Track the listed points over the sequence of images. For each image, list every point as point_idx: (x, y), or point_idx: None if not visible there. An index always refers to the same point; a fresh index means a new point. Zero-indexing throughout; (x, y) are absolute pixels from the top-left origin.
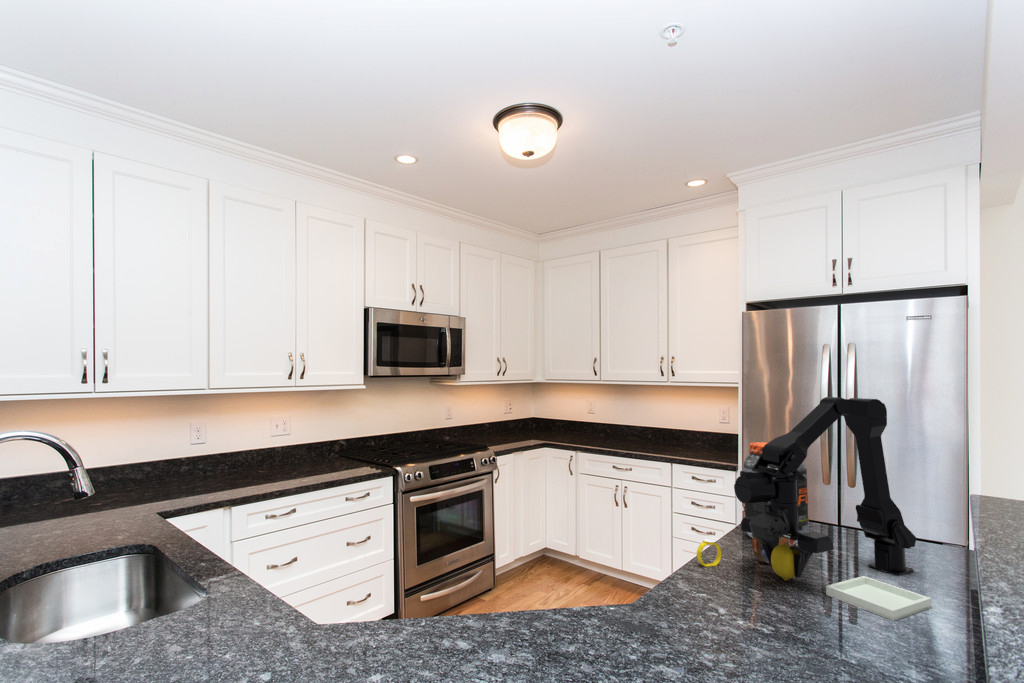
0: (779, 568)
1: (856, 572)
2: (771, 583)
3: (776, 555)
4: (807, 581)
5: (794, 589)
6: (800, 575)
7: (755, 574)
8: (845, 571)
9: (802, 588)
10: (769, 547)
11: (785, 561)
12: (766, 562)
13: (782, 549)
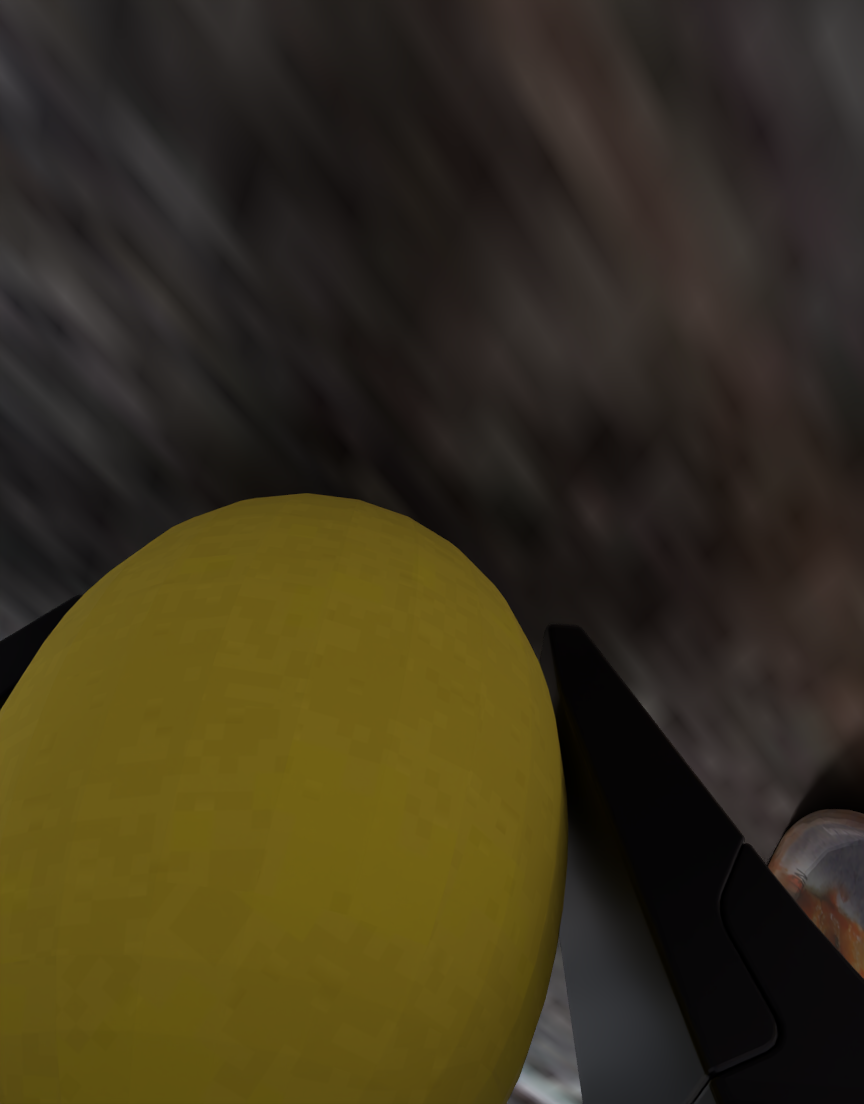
0: (214, 531)
1: None
2: (363, 263)
3: (212, 788)
4: None
5: (34, 376)
6: None
7: (785, 391)
8: None
9: (50, 506)
10: (666, 1044)
11: (14, 717)
12: (831, 809)
13: (40, 1100)
